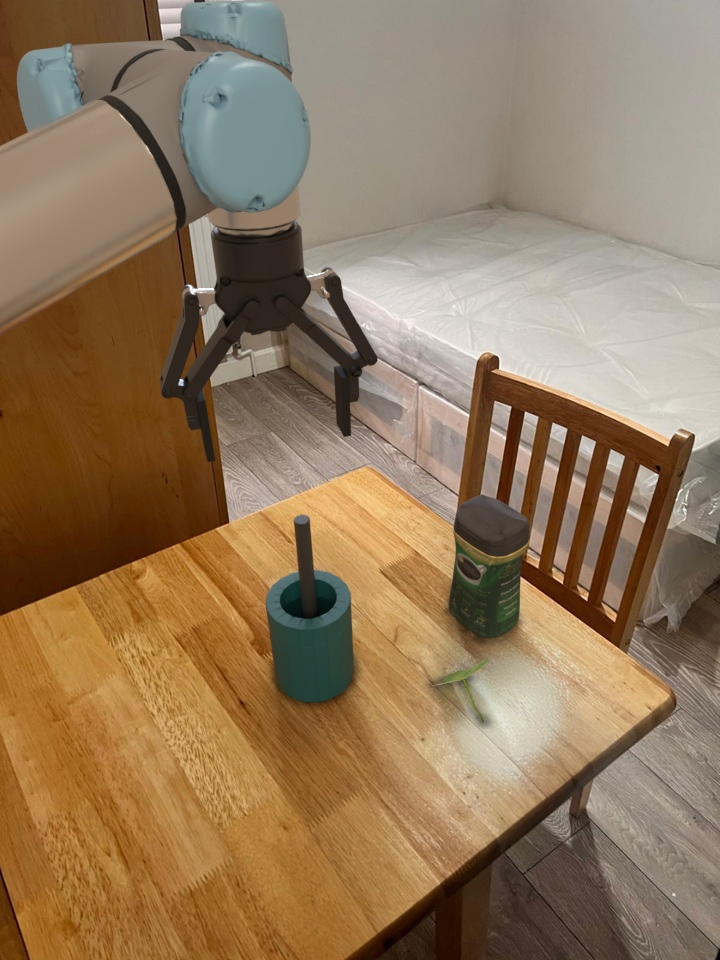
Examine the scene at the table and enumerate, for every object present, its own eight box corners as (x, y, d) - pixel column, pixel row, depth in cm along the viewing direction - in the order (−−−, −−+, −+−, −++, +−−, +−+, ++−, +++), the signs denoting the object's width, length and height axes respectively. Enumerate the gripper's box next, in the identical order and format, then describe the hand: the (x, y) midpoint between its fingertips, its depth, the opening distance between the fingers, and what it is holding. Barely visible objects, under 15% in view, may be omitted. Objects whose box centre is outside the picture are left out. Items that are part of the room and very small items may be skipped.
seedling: (464, 729, 93) (443, 680, 95) (518, 707, 90) (496, 656, 92) (441, 739, 87) (420, 686, 89) (499, 715, 84) (475, 661, 86)
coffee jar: (528, 622, 101) (544, 516, 91) (487, 649, 98) (499, 542, 87) (478, 584, 108) (488, 482, 97) (438, 608, 104) (444, 504, 93)
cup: (285, 711, 90) (275, 638, 83) (268, 651, 98) (258, 580, 91) (363, 690, 93) (361, 617, 85) (341, 633, 101) (337, 562, 93)
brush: (302, 682, 93) (286, 535, 79) (294, 657, 96) (278, 511, 82) (335, 673, 94) (325, 526, 80) (326, 648, 97) (315, 504, 83)
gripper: (383, 197, 66) (384, 403, 78) (98, 227, 60) (147, 445, 72) (412, 218, 60) (409, 438, 72) (99, 254, 54) (152, 486, 67)
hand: (278, 442), depth 72 cm, fingers open, 13 cm apart
